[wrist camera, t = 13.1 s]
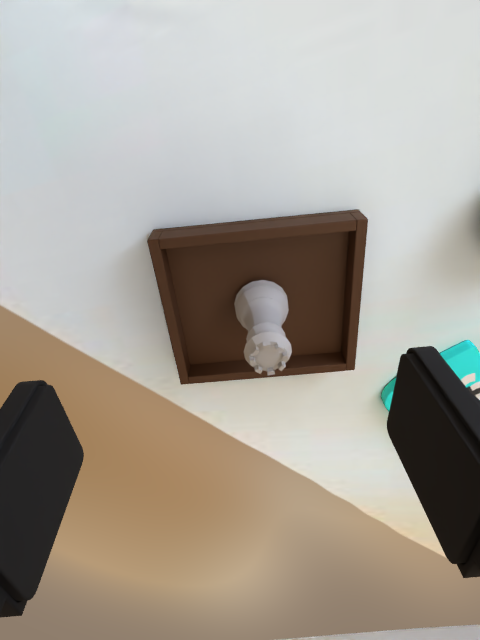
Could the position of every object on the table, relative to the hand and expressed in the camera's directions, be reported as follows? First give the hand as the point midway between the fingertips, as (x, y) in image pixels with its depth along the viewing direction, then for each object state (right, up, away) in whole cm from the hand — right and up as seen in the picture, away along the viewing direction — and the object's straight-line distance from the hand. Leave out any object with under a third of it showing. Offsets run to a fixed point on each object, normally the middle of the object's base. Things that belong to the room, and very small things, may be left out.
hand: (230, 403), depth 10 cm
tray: (+2, +4, +21) cm, 22 cm away
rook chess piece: (+2, +4, +21) cm, 22 cm away
